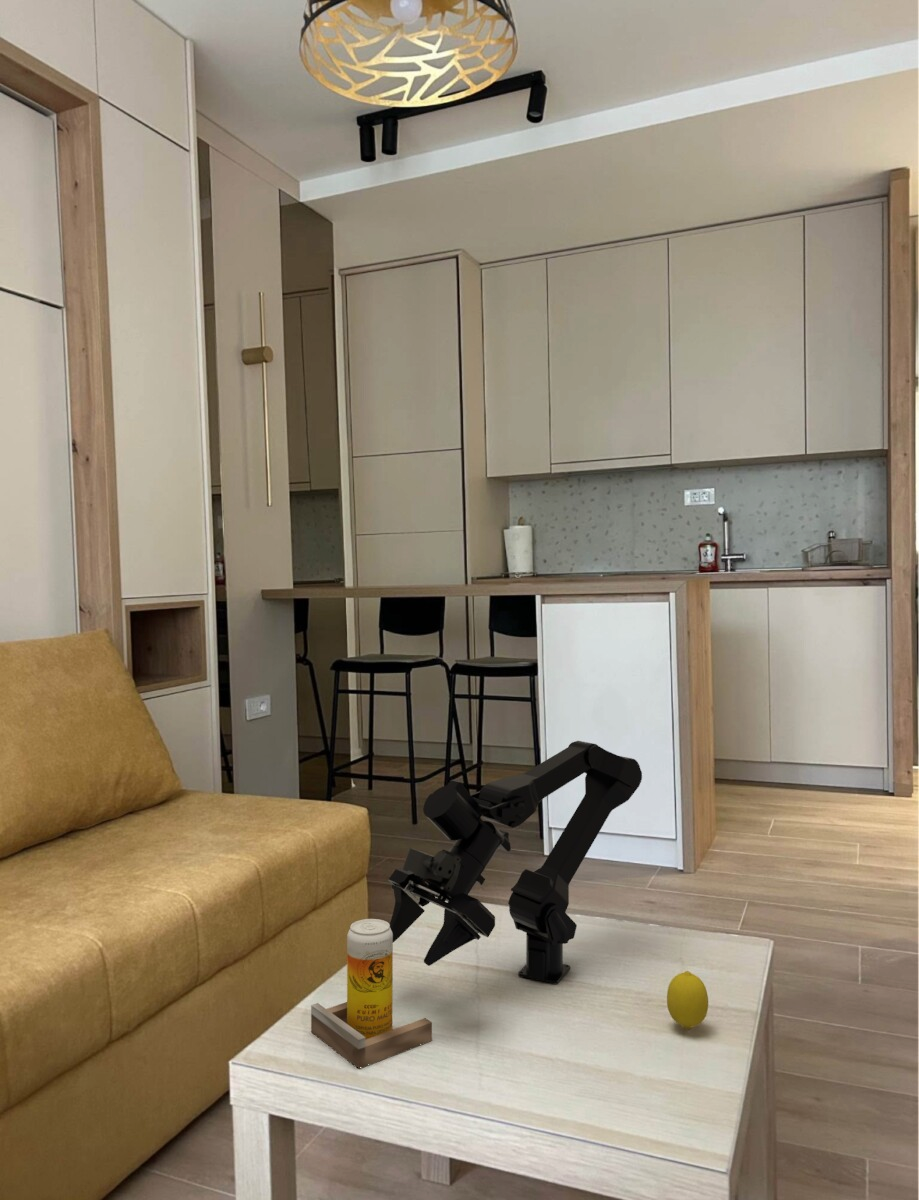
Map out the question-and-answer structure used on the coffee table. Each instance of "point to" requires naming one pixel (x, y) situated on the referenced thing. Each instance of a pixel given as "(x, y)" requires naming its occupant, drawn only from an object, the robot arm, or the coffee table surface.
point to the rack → (354, 1046)
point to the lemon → (687, 1000)
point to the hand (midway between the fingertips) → (406, 953)
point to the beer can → (370, 977)
